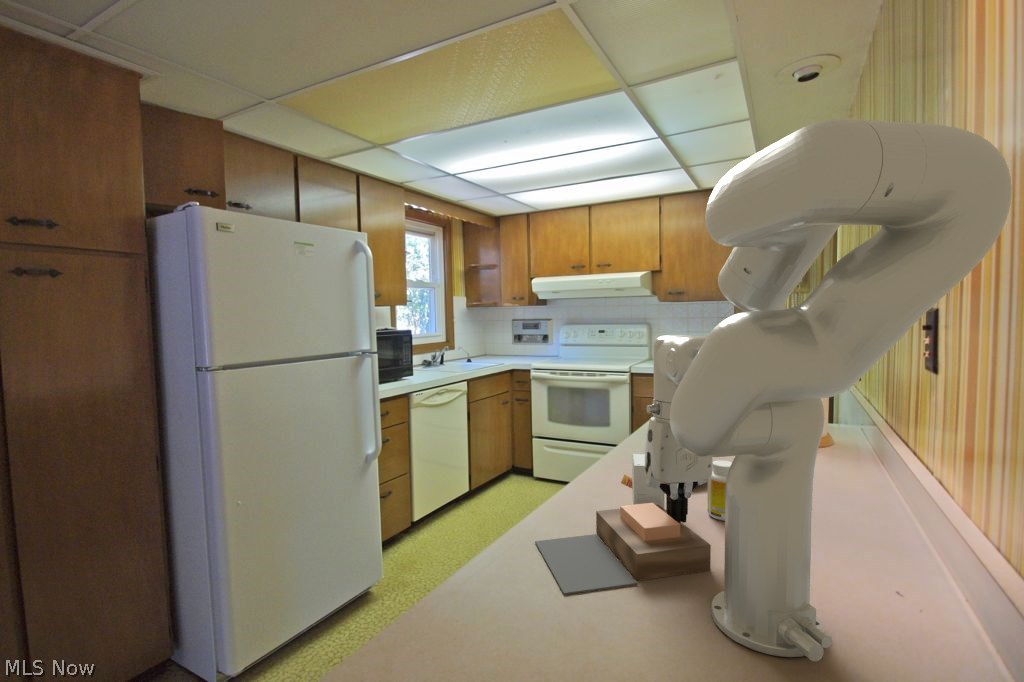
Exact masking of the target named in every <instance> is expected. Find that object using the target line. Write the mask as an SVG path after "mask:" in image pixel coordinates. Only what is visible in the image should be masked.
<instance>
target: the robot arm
mask: <svg viewBox="0 0 1024 682" xmlns="http://www.w3.org/2000/svg"><path fill="white" fill-rule="evenodd" d="M1011 178H1012V177H1011V174H1010V170H1009V166H1008V164H1007V161H1006V160H1005V158H1004V156H1003V154H1002V153H1001V152H1000V150H999V149H998V148H997V147H996V146H995V145H994V144H993V143H992V142H990V141H989V140H988V139H986V138H984V137H983V136H981V135H979V134H977V133H975V132H972V131H969V130H966V129H962V128H958V127H954V126H949V125H942V124H934V123H933V124H932V123H922V122H920V123H919V122H908V121H907V122H906V121H900V122H899V121H887V120H874V119H873V120H871V119H856V118H833V119H827V120H826V119H825V120H822V121H817V122H814V123H811V124H808V125H806V126H803V127H801V128H799V129H797V130H795V131H794V132H792V133H790V134H788V135H786V136H785V137H783V138H781V139H779V140H778V141H776V142H774V143H772V144H770V145H769V146H767V147H765V148H763V149H762V150H760V151H757V152H756V153H755V154H753V155H750V157H748V158H745V159H744V160H743V161H741V162H739V163H738V164H736V165H735V166H734V167H732V168H731V169H730V170H728V172H727V173H725V175H724V176H722V177H721V179H720V180H719V181H718V183H717V184H716V185H715V187H714V188H713V190H712V192H711V194H710V196H709V197H708V200H707V203H706V209H705V213H704V214H705V217H704V222H705V223H704V224H705V227H706V231H707V233H708V235H709V236H710V238H711V239H712V240H713V241H714V242H715V243H716V244H718V245H720V246H724V247H732V250H731V252H730V253H729V256H728V258H727V259H726V261H725V263H724V264H723V266H722V268H721V269H720V271H719V273H718V276H717V277H718V278H717V285H718V288H719V290H720V292H721V294H722V296H723V297H724V298H725V299H726V300H727V301H728V302H729V303H731V304H732V305H733V306H734V307H736V308H738V310H740V311H743V312H738V313H735V314H733V315H731V316H729V317H727V318H725V319H723V320H722V321H720V322H719V323H718V324H717V325H716V326H715V327H714V328H713V329H712V330H711V331H710V333H709V334H708V335H706V336H705V335H704V336H703V335H702V336H696V335H690V334H665V335H660V336H658V337H657V338H655V340H654V344H653V399H652V404H647V405H646V408H645V409H646V413H647V414H651V415H652V416H651V417H650V418H649V422H648V427H647V430H646V431H647V432H646V439H645V449H644V454H645V471H646V473H647V478H646V485H647V486H649V487H650V488H655V489H661V490H662V491H663V492H664V495H665V497H666V506H665V507H666V509H665V510H666V511H667V514H668V515H669V516H670V517H672V518H673V519H674V520H675V521H677V522H678V523H680V522H682V523H683V524H685V523H687V515H688V511H689V507H688V506H689V504H688V503H689V502H688V501H689V499H690V498H691V497H692V493H693V491H694V490H695V489H696V488H697V487H698V486H702V485H704V484H706V483H707V484H708V479H709V478H710V477H711V476H712V472H713V462H714V461H713V458H724V457H725V458H726V457H734V458H733V460H732V461H731V462H732V464H731V466H730V469H729V472H728V475H727V479H726V488H725V521H724V566H723V567H724V574H723V575H724V577H723V578H724V580H723V581H724V582H723V583H724V584H723V587H724V589H723V590H722V591H720V592H719V593H717V594H715V596H714V597H713V598H712V601H711V605H710V613H711V618H712V620H713V622H714V624H715V625H716V626H717V627H718V629H719V630H720V631H721V632H723V633H724V634H725V635H726V636H727V637H728V638H730V639H731V640H733V641H735V642H736V643H738V644H740V645H742V646H744V647H746V648H748V649H750V650H753V651H755V652H759V653H762V654H766V655H771V656H775V657H780V658H781V657H784V658H799V657H800V658H801V657H806V658H808V659H809V660H810V661H812V662H818V661H820V660H821V659H822V657H823V655H824V653H825V651H824V650H825V649H828V648H830V647H831V645H832V643H833V640H832V637H831V636H830V635H828V634H827V633H826V632H825V627H824V625H823V623H822V621H821V620H820V619H819V617H818V616H817V608H816V607H814V606H813V605H811V604H810V601H811V599H810V598H811V596H810V595H811V556H812V555H811V553H812V517H813V516H812V515H813V514H812V512H813V493H814V492H813V490H814V489H813V488H814V475H815V466H816V462H817V461H816V459H817V456H818V450H819V449H820V443H821V440H822V437H823V431H824V427H825V426H824V425H825V408H824V405H823V401H822V399H827V398H832V397H836V396H838V395H842V394H844V393H845V392H847V391H848V390H849V389H851V388H852V387H853V386H855V384H856V383H858V382H859V381H860V379H862V377H863V376H864V375H866V373H867V372H869V370H870V369H872V368H873V367H874V365H876V364H877V363H878V362H879V361H880V360H881V359H882V358H883V357H884V356H885V355H886V354H887V353H888V352H889V351H890V350H891V349H892V348H893V347H894V346H895V345H896V344H897V343H898V342H899V341H900V340H901V339H902V338H903V337H904V336H905V334H907V333H908V331H909V330H910V329H911V328H912V327H913V326H914V325H915V324H916V323H917V322H918V320H920V319H921V318H922V317H923V316H924V315H925V314H926V313H927V312H928V311H929V310H930V309H931V308H932V307H933V306H935V305H937V303H938V302H939V301H941V299H943V297H945V296H946V295H947V294H948V293H949V292H950V291H951V290H953V289H954V288H955V287H956V286H957V285H959V283H960V282H962V281H963V280H964V279H965V278H966V276H968V275H969V274H970V273H971V272H972V271H973V269H974V270H975V268H976V267H977V266H978V265H979V263H980V262H981V261H982V260H983V259H984V258H985V257H986V256H987V254H988V253H989V251H991V249H992V248H993V246H994V244H995V243H996V242H997V240H998V238H999V236H1000V235H1001V233H1002V230H1003V229H1004V227H1005V224H1006V221H1007V218H1008V217H1009V212H1010V207H1011V204H1012V194H1013V193H1012V189H1013V188H1012V187H1013V186H1012V179H1011ZM844 225H845V226H881V228H880V229H879V231H878V232H876V233H875V234H874V235H873V236H871V237H870V238H869V239H867V240H866V241H864V242H863V243H861V244H859V245H858V246H855V248H853V249H851V251H849V252H848V253H847V254H845V255H844V256H842V257H841V258H840V259H839V260H837V262H835V263H834V264H833V265H832V267H830V268H829V270H828V271H827V272H826V273H825V274H824V275H823V277H822V279H821V280H820V282H819V283H818V285H817V286H816V287H815V288H814V289H813V291H812V292H811V293H810V294H809V295H808V296H807V298H806V299H804V300H803V302H801V303H800V304H798V305H796V306H794V307H790V308H786V305H785V303H786V301H788V298H789V297H790V296H791V294H792V293H793V292H794V290H795V289H796V287H797V286H798V285H799V284H800V282H801V281H802V279H803V278H804V276H805V275H806V274H807V272H808V271H809V269H810V268H811V267H812V265H813V264H814V263H815V261H816V260H817V259H818V257H820V254H821V253H822V252H823V250H824V249H825V247H826V246H827V245H828V243H829V242H830V240H831V239H832V238H833V236H834V235H835V233H836V232H837V230H838V229H839V228H840V226H844ZM676 483H677V484H676Z"/></svg>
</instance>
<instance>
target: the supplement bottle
mask: <svg viewBox="0 0 1024 682" xmlns="http://www.w3.org/2000/svg"><path fill="white" fill-rule="evenodd" d="M732 462H733V461H729V460H722V459H721V460H714V461H713V472H712V476H711V477H710V478H709V479H708V482H707V514H708V515H709V516H710V517H711V518H713V519H715V520H718V521H723V522H725V488H726V479H727V475H728V472H729V469H730V466H731V464H732Z"/></svg>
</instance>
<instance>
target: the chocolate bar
mask: <svg viewBox="0 0 1024 682" xmlns="http://www.w3.org/2000/svg"><path fill="white" fill-rule="evenodd" d="M620 484H622V485H623V486H626V487H627V486H628V488H629V489H631V488H632V489H631V490H633V484H632V477H630V476H629V475H626V474H624V475H623V477H622V479H621V481H620Z"/></svg>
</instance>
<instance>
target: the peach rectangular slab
mask: <svg viewBox="0 0 1024 682" xmlns="http://www.w3.org/2000/svg"><path fill="white" fill-rule="evenodd" d="M619 509H620V518H621V519H623V520H624V521H625V522H626V523H627V524H628V525H629V526H630V527H631V528H632V529H633V530H634V531H635V532H636V533H637V534H638V535H639V536H640V537H641V538H642V539H643V540H644V541H649V540H657V539H666V538H674V537H680V524H679V523H678V522H677V521H675V520H674V519H673V518H672V517H670V516H669V515H668V514H666V513H665V512H664V511H663V510H661V509H660V508H659V507H657V506H656V505H655V504H654V503H644V504H635V505H633V504H625V505H620V506H619Z"/></svg>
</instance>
